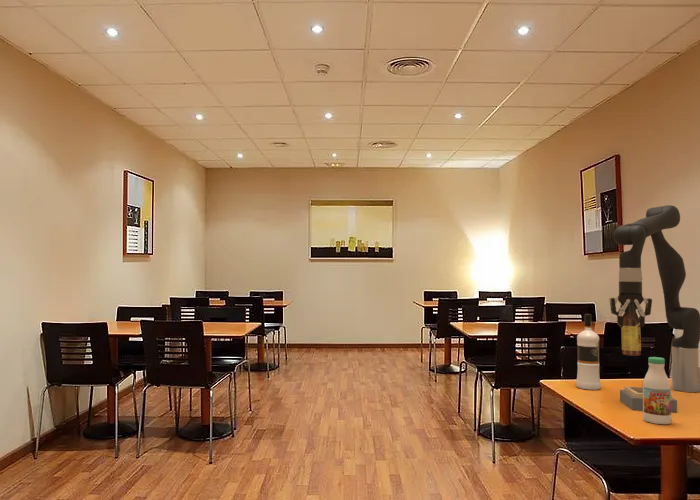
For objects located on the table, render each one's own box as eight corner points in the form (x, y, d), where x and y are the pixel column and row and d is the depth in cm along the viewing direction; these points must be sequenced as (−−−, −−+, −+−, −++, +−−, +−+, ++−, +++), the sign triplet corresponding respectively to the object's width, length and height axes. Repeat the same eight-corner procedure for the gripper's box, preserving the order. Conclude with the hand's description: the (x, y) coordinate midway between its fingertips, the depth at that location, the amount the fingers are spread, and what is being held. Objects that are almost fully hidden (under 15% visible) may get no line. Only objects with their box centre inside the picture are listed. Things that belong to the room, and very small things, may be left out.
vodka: (579, 384, 229) (579, 312, 230) (603, 387, 223) (602, 313, 224) (573, 388, 221) (573, 313, 223) (597, 391, 216) (597, 315, 217)
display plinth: (661, 402, 198) (661, 387, 198) (677, 412, 184) (676, 395, 184) (619, 400, 201) (619, 385, 201) (632, 410, 187) (632, 393, 187)
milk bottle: (637, 418, 176) (637, 355, 177) (660, 418, 177) (660, 355, 177) (653, 425, 168) (652, 359, 169) (676, 424, 169) (676, 359, 170)
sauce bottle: (643, 356, 194) (642, 300, 194) (624, 356, 195) (623, 300, 196) (638, 354, 200) (637, 299, 201) (619, 353, 201) (618, 299, 202)
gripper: (648, 280, 201) (649, 326, 200) (606, 280, 204) (606, 325, 203) (655, 280, 193) (656, 328, 193) (611, 280, 196) (612, 327, 196)
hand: (630, 326), depth 198 cm, fingers closed on sauce bottle, 6 cm apart
